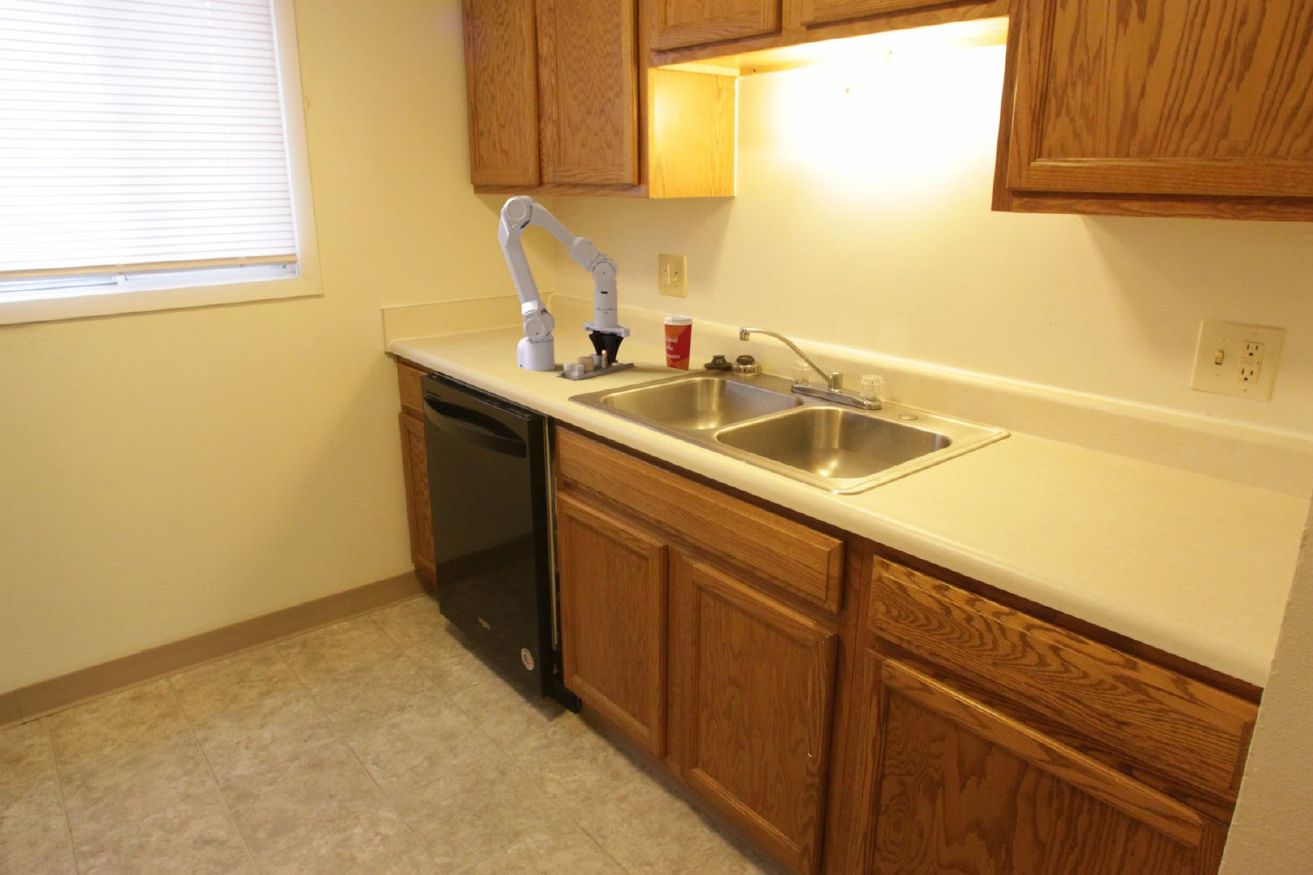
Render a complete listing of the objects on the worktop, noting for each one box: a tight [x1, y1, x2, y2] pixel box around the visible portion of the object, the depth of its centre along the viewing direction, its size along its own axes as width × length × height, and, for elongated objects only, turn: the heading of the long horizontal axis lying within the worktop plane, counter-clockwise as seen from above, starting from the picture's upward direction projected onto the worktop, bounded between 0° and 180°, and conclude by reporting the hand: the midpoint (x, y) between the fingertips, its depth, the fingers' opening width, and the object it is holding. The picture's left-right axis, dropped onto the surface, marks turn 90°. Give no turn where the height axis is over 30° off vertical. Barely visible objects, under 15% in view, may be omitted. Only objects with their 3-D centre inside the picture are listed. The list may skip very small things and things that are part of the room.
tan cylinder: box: [576, 356, 594, 373], centre depth 218 cm, size 4×4×4 cm
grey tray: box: [555, 359, 638, 382], centre depth 221 cm, size 7×22×4 cm, turn 138°
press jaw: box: [588, 348, 623, 371], centre depth 222 cm, size 4×7×5 cm, turn 138°
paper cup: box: [662, 315, 694, 372], centre depth 226 cm, size 8×8×14 cm
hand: (606, 361), depth 223 cm, fingers closed on press jaw, 3 cm apart
